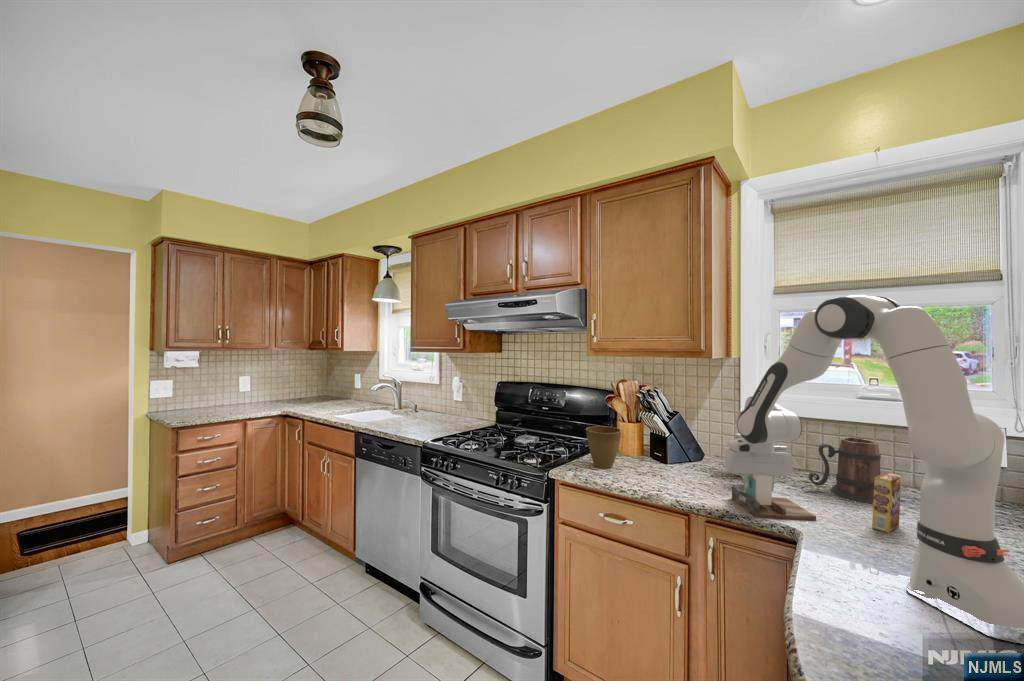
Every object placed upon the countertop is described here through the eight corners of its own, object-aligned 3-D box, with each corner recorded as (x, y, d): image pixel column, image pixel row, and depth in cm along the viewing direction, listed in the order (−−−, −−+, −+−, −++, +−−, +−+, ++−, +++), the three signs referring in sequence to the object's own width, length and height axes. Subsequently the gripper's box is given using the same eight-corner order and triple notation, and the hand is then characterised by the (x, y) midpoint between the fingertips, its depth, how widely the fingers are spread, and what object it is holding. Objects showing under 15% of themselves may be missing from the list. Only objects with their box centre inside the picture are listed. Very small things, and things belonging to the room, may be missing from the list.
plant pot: (600, 459, 194) (600, 424, 194) (627, 467, 183) (628, 430, 183) (578, 465, 185) (578, 428, 185) (605, 473, 173) (606, 434, 173)
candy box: (890, 533, 122) (891, 480, 122) (871, 528, 126) (872, 476, 126) (900, 527, 127) (901, 475, 127) (882, 521, 130) (883, 471, 131)
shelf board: (816, 520, 130) (816, 505, 130) (754, 517, 131) (754, 503, 131) (785, 501, 146) (786, 488, 146) (730, 498, 147) (731, 486, 147)
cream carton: (758, 496, 143) (758, 469, 143) (771, 505, 135) (772, 476, 135) (743, 495, 143) (744, 468, 143) (756, 504, 135) (756, 476, 135)
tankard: (875, 491, 159) (876, 437, 159) (899, 507, 143) (900, 447, 143) (802, 483, 166) (802, 432, 167) (817, 497, 150) (818, 441, 151)
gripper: (785, 444, 142) (784, 485, 142) (722, 441, 143) (721, 483, 143) (797, 448, 136) (796, 492, 135) (731, 446, 137) (730, 489, 137)
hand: (757, 487), depth 139 cm, fingers closed on cream carton, 5 cm apart
